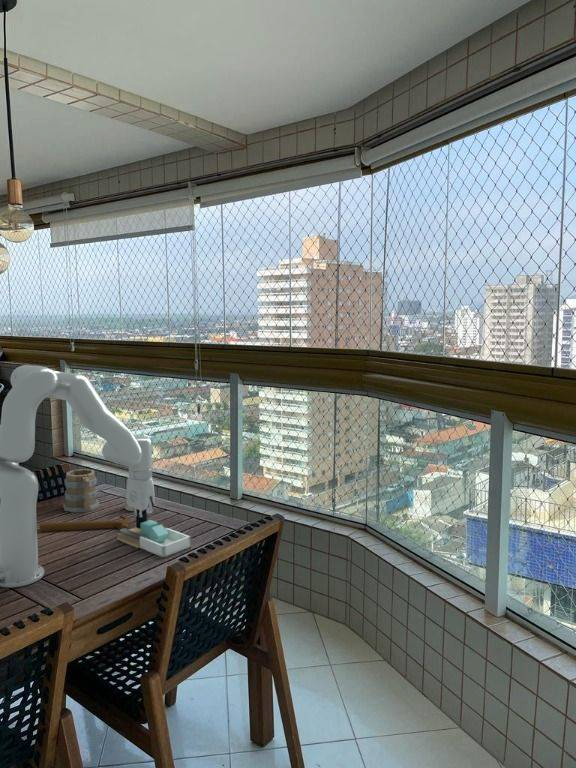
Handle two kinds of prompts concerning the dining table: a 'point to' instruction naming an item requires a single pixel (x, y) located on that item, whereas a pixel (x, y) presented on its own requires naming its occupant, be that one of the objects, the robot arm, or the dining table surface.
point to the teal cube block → (147, 527)
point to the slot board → (130, 536)
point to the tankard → (80, 491)
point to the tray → (167, 544)
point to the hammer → (86, 525)
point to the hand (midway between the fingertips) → (141, 527)
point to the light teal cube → (158, 534)
